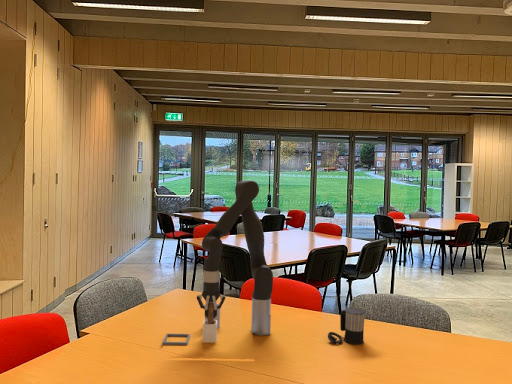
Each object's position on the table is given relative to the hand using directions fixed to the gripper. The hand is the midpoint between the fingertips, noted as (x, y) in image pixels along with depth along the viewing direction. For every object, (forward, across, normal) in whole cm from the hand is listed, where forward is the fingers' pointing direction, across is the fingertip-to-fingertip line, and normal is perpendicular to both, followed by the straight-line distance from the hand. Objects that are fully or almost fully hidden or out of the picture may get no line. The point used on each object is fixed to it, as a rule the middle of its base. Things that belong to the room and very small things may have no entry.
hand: (210, 317), depth 202 cm
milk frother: (+12, -64, -3) cm, 65 cm away
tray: (+11, +15, +1) cm, 19 cm away
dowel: (+9, 0, 0) cm, 9 cm away
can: (+12, 0, -18) cm, 22 cm away
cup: (+11, 0, 0) cm, 11 cm away
